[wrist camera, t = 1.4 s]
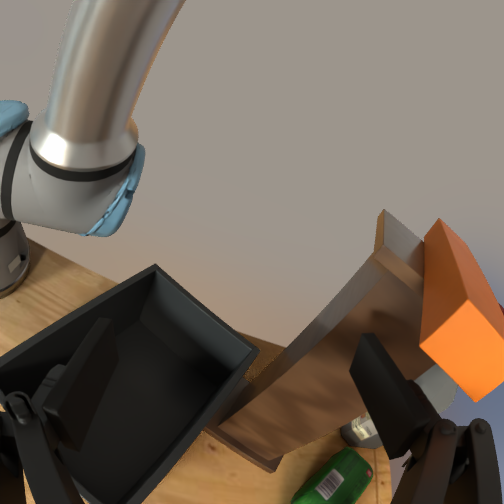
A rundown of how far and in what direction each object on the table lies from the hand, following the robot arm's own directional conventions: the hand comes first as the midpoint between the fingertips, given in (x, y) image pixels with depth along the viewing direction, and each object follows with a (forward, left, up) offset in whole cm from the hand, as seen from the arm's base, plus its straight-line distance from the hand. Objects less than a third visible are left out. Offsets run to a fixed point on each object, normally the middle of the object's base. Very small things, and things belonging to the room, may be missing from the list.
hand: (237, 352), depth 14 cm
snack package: (+22, +7, -23) cm, 33 cm away
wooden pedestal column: (+8, +11, -23) cm, 27 cm away
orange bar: (+8, +8, +7) cm, 14 cm away
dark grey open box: (-6, +1, -23) cm, 24 cm away
